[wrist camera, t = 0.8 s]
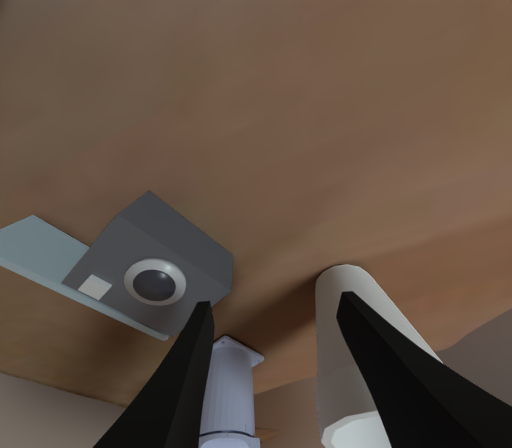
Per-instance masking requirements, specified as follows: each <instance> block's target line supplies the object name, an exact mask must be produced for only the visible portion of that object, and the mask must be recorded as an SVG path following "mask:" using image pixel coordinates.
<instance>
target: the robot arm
mask: <svg viewBox="0 0 512 448" xmlns="http://www.w3.org/2000/svg"><path fill="white" fill-rule="evenodd" d="M336 319H337V322H338V325H339V328H340V330H341V333H342V336H343V338H344V340H345V342H346V344H347V346H348V348H349V350H350V352H351V354H352V356H353V358H354V360H355V362H356V364H357V366H358V368H359V370H360V372H361V374H362V376H363V378H364V380H365V382H366V385H367V387H368V389H369V391H370V393H371V396H372V398H373V401H374V403H375V406H376V408H377V411H378V413H379V416H380V418H381V421H382V423H383V426H384V429H385V431H386V434H387V437H388V439H389V442H390V444H391V447H392V448H512V407H511V406H509V405H508V404H506V403H504V402H503V401H501V400H499V399H498V398H496V397H494V396H493V395H491V394H489V393H488V392H486V391H484V390H483V389H481V388H480V387H478V386H476V385H475V384H473V383H472V382H470V381H469V380H467V379H465V378H464V377H462V376H460V375H459V374H458V373H456V372H455V371H453V370H451V369H450V368H449V367H447V366H446V365H444V364H443V363H441V362H440V361H438V360H437V359H436V358H434V357H433V356H431V355H430V354H429V353H427V352H426V351H424V350H423V349H422V348H420V347H419V346H418V345H416V344H415V343H414V342H412V341H411V340H410V339H409V338H407V337H406V336H405V335H403V334H402V333H401V332H400V331H398V330H397V329H396V328H395V327H394V326H392V325H391V324H390V323H389V322H388V321H386V320H385V319H384V318H383V317H382V316H381V315H379V314H378V313H377V312H376V311H375V310H374V309H373V308H371V307H370V306H369V305H368V304H367V303H366V302H365V301H364V300H362V299H361V298H360V297H359V296H358V295H357V294H356V293H354V292H353V291H346V292H342V293H341V297H340V302H339V306H338V310H337V314H336ZM214 327H215V325H214V320H213V314H212V309H211V303H210V301H200V302H198V303H197V304H196V306H195V308H194V310H193V312H192V314H191V316H190V318H189V319H188V321H187V323H186V325H185V326H184V328H183V330H182V331H181V333H180V335H179V336H178V338H177V340H176V341H175V343H174V345H173V346H172V348H171V349H170V351H169V352H168V354H167V355H166V357H165V358H164V360H163V361H162V363H161V364H160V366H159V367H158V368H157V370H156V371H155V373H154V374H153V375H152V377H151V378H150V379H149V381H148V382H147V383H146V385H145V386H144V387H143V389H142V390H141V391H140V392H139V394H138V395H137V396H136V397H135V399H134V400H133V401H132V402H131V404H130V405H129V406H128V407H127V409H126V410H125V411H124V412H123V413H122V415H121V416H120V417H119V418H118V419H117V421H116V422H115V423H114V424H113V425H112V426H111V427H110V429H109V430H108V431H107V432H106V433H105V434H104V435H103V437H102V438H101V439H100V440H99V441H98V442H97V443H96V445H95V446H94V447H93V448H260V439H259V438H255V425H254V403H253V380H252V367H254V366H256V365H257V364H259V363H261V362H262V361H264V356H262V355H261V354H259V353H257V352H255V351H253V350H252V349H250V348H248V347H246V346H244V345H243V344H241V343H239V342H237V341H235V340H234V339H232V338H230V337H228V336H223V337H221V338H220V339H219V340H217V341H216V342H214V343H213V341H214Z"/></svg>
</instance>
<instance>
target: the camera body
mask: <svg viewBox="0 0 512 448" xmlns="http://www.w3.org/2000/svg"><path fill="white" fill-rule="evenodd" d="M232 273H233V255H232V254H231V253H230V252H228V251H227V250H226V249H224V248H223V247H222V246H221V245H219V244H218V243H217V242H215V241H214V240H213V239H212V238H210V237H209V236H208V235H206V234H205V233H204V232H202V231H201V230H200V229H199V228H197V227H196V226H195V225H193V224H192V223H191V222H190V221H188V220H187V219H186V218H184V217H183V216H182V215H181V214H179V213H178V212H177V211H175V210H174V209H173V208H171V207H170V206H169V205H168V204H166V203H165V202H164V201H162V200H161V199H160V198H159V197H157V196H156V195H155V194H153V193H152V192H151V191H148V192H147V193H145V194H144V195H142V196H141V197H140V198H138V199H137V200H136V201H134V202H133V203H132V204H130V205H129V206H128V207H126V208H125V209H124V210H122V211H121V212H120V213H118V214H117V215H116V216H115V218H114V219H113V220H112V221H111V223H110V224H109V225H108V226H107V227H106V229H105V230H104V231H103V232H102V233H101V235H100V236H99V237H98V238H97V240H96V241H95V242H94V243H93V244H92V246H91V247H90V248H89V249H88V250H87V252H86V253H85V254H84V255H83V257H82V258H81V259H80V260H79V261H78V263H77V264H76V265H75V266H74V267H73V269H72V270H71V271H70V272H69V274H68V275H67V276H66V277H65V278H64V280H63V281H62V282H61V284H64V285H66V286H68V287H70V288H72V289H74V290H76V291H78V292H80V293H82V294H84V295H86V296H88V297H90V298H92V299H94V300H96V301H99V302H101V303H103V304H105V305H107V306H109V307H111V308H113V309H115V310H117V311H119V312H121V313H123V314H125V315H127V316H129V317H132V318H134V319H136V320H138V321H140V322H142V323H144V324H146V325H148V326H150V327H152V328H154V329H156V330H158V331H160V332H162V333H165V334H167V335H169V336H171V337H174V336H175V335H177V334H178V333H179V332H180V331H182V330H183V328H184V326H185V325H186V323H187V321H188V319H189V318H190V316H191V314H192V312H193V310H194V308H195V306H196V304H197V303H198V302H200V301H210V303H211V307H212V306H214V305H215V304H216V303H217V302H219V301H220V300H221V299H222V298H224V297H225V296H226V295H228V294H229V293H230V292H231V291H232Z"/></svg>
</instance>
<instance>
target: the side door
mask: <svg viewBox="0 0 512 448" xmlns="http://www.w3.org/2000/svg"><path fill="white" fill-rule="evenodd" d="M89 248H90V247H88V246H86V245H84V244H83V243H81V242H79V241H78V240H76V239H74V238H72V237H71V236H69V235H67V234H65V233H64V232H62V231H60V230H59V229H57V228H55V227H53V226H52V225H50V224H48V223H46V222H45V221H43V220H41V219H40V218H38V217H36V216H34V215H32V216H29V217H27V218H25V219H23V220H20V221H18V222H16V223H14V224H11V225H9V226H7V227H5V228H2V229H0V266H3V267H5V268H7V269H9V270H11V271H13V272H15V273H18V274H20V275H22V276H24V277H26V278H28V279H30V280H33V281H35V282H37V283H39V284H41V285H43V286H45V287H48V288H50V289H52V290H54V291H56V292H58V293H60V294H63V295H65V296H67V297H69V298H71V299H73V300H75V301H78V302H80V303H82V304H84V305H86V306H88V307H90V308H93V309H95V310H97V311H99V312H101V313H103V314H105V315H108V316H110V317H112V318H114V319H116V320H118V321H121V322H123V323H125V324H127V325H129V326H131V327H133V328H136V329H138V330H140V331H142V332H144V333H146V334H148V335H151V336H153V337H155V338H157V339H159V340H161V341H166V340H168V337H169V335H167V334H165V333H162V332H160V331H158V330H156V329H154V328H152V327H150V326H148V325H146V324H144V323H142V322H140V321H138V320H136V319H134V318H132V317H129V316H127V315H125V314H123V313H121V312H119V311H117V310H115V309H113V308H111V307H109V306H107V305H105V304H103V303H101V302H99V301H96V300H94V299H92V298H90V297H88V296H86V295H84V294H82V293H80V292H78V291H76V290H74V289H72V288H70V287H68V286H66V285H64V284H61V282H62V281H63V280H64V278H65V277H66V276H67V275H68V274H69V272H70V271H71V270H72V269H73V267H74V266H75V265H76V264H77V263H78V261H79V260H80V259H81V258H82V257H83V255H84V254H85V253H86V252H87V250H88V249H89Z"/></svg>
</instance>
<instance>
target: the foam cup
mask: <svg viewBox="0 0 512 448" xmlns="http://www.w3.org/2000/svg"><path fill="white" fill-rule="evenodd" d="M346 291H353V292H354V293H356V294H357V295H358V296H359V297H360V298H361V299H362V300H364V301H365V302H366V303H367V304H368V305H369V306H370V307H371V308H373V309H374V310H375V311H376V312H377V313H378V314H379V315H381V316H382V317H383V318H384V319H385V320H386V321H388V322H389V323H390V324H391V325H392V326H394V327H395V328H396V329H397V330H398V331H400V332H401V333H402V334H403V335H405V336H406V337H407V338H409V339H410V340H411V341H412V342H414V343H415V344H416V345H418V346H419V347H420V348H422V349H423V350H424V351H426V352H427V353H429V354H430V355H431V356H433V357H434V358H436V359H437V360H438V361H440V362H441V363H442V361H441V360H440V359H439V358H438V357H437V355H436V354H435V353H434V352H433V350H432V349H431V348H430V347H429V346H428V344H427V343H426V342H425V341H424V340H423V338H422V337H421V336H420V335H419V334H418V332H417V331H416V330H415V329H414V327H413V326H412V325H411V324H410V323H409V321H408V320H407V319H406V318H405V317H404V315H403V314H402V313H401V312H400V311H399V309H398V308H397V307H396V306H395V304H394V303H393V302H392V301H391V300H390V298H389V297H388V296H387V295H386V294H385V292H384V291H383V290H382V289H381V288H380V286H379V285H378V284H377V283H376V281H375V280H374V279H373V278H372V277H371V276H370V275H369V273H367V272H366V271H365V270H363V269H362V268H361V267H357V266H353V265H348V264H346V265H339V266H333V267H331V268H329V269H327V270H326V271H324V272H322V274H321V275H320V276H319V277H318V279H317V280H316V286H315V305H316V340H317V375H318V387H317V392H316V406H317V414H318V422H319V430H320V438H321V443H322V444H323V445H324V446H325V447H326V448H392V447H391V444H390V442H389V439H388V437H387V434H386V431H385V429H384V426H383V423H382V421H381V418H380V416H379V413H378V411H377V408H376V406H375V403H374V401H373V398H372V396H371V393H370V391H369V389H368V387H367V385H366V382H365V380H364V378H363V376H362V374H361V372H360V370H359V368H358V366H357V364H356V362H355V360H354V358H353V356H352V354H351V352H350V350H349V348H348V346H347V344H346V342H345V340H344V338H343V336H342V333H341V330H340V328H339V325H338V322H337V319H336V314H337V310H338V306H339V302H340V297H341V293H342V292H346Z"/></svg>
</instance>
